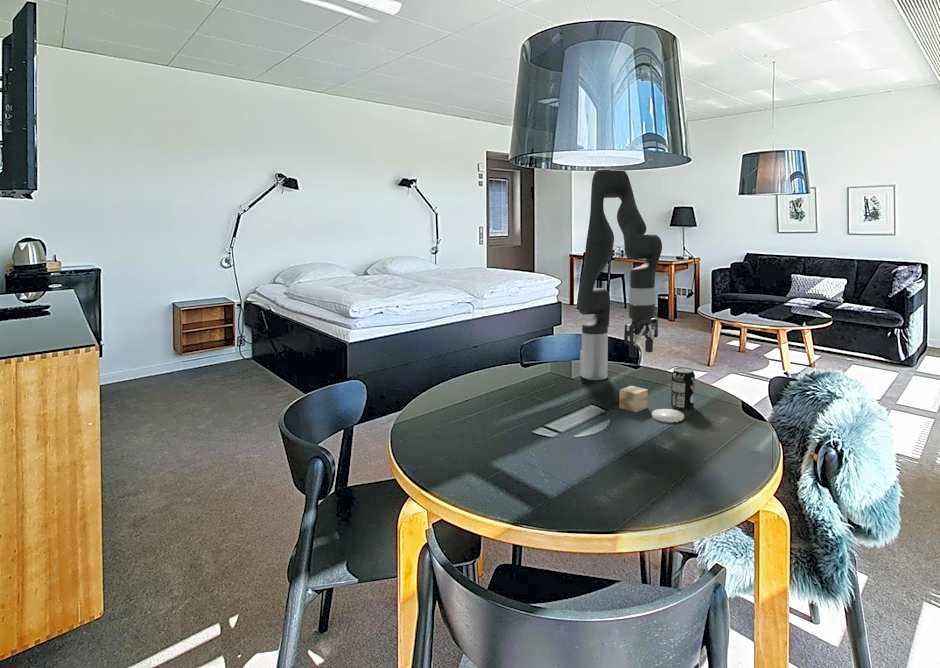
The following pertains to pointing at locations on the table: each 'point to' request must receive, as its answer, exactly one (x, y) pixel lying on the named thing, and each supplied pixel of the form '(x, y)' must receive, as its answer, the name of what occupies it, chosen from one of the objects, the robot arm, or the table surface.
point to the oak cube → (633, 398)
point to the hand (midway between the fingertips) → (640, 354)
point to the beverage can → (682, 388)
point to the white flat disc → (667, 415)
